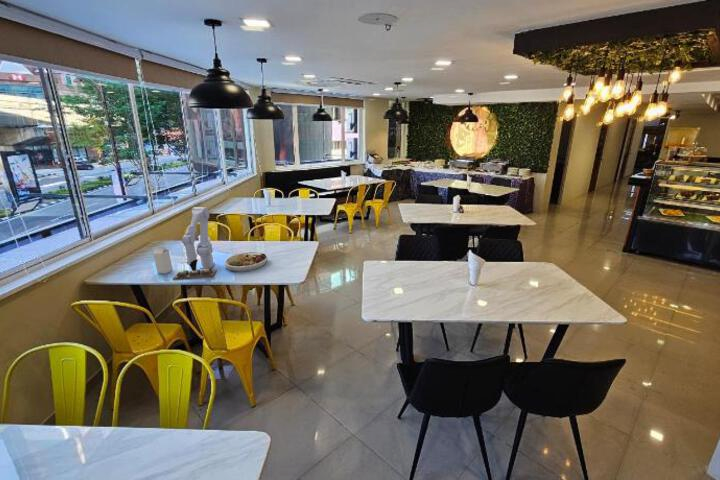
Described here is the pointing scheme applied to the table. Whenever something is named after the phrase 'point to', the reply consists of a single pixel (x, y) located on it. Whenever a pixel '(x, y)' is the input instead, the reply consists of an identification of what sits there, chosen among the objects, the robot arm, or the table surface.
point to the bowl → (245, 261)
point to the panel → (195, 274)
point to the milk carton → (162, 260)
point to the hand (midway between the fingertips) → (194, 270)
